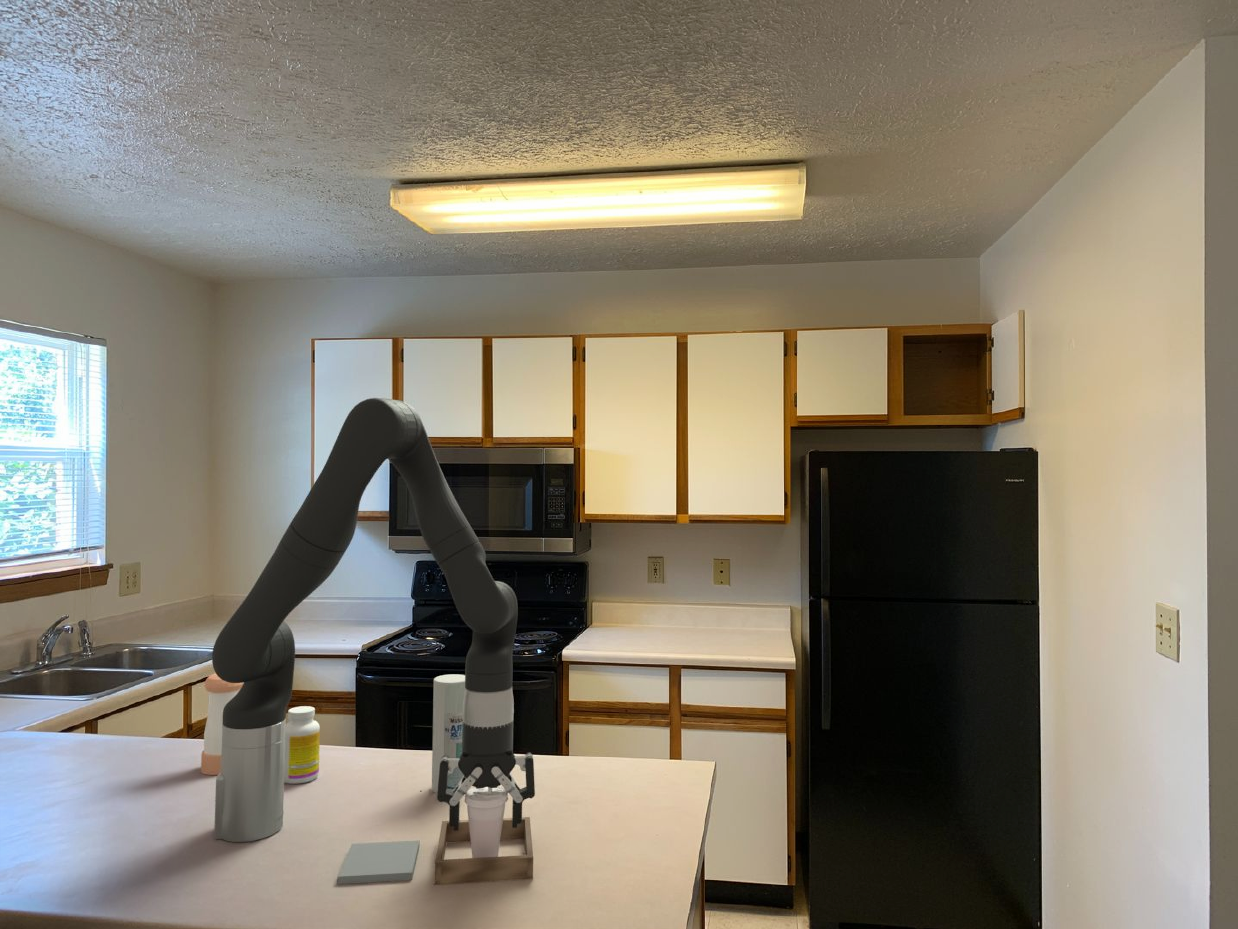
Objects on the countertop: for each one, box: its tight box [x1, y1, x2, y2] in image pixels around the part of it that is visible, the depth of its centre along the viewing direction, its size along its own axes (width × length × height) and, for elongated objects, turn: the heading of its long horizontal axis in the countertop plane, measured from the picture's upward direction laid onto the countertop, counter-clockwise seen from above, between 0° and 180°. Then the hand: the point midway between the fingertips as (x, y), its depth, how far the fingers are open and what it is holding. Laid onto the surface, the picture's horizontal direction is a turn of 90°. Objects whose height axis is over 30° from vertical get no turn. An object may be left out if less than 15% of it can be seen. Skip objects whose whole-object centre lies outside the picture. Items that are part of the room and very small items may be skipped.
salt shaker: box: [200, 673, 244, 776], centre depth 151 cm, size 7×7×19 cm
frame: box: [434, 816, 534, 886], centre depth 115 cm, size 14×14×3 cm
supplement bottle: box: [284, 705, 321, 785], centre depth 146 cm, size 7×7×13 cm
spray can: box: [431, 673, 465, 795], centre depth 142 cm, size 6×6×20 cm
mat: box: [337, 839, 421, 885], centre depth 113 cm, size 10×10×1 cm
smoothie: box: [464, 786, 509, 858], centre depth 116 cm, size 6×6×14 cm
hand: (485, 827), depth 116 cm, fingers open, 8 cm apart
